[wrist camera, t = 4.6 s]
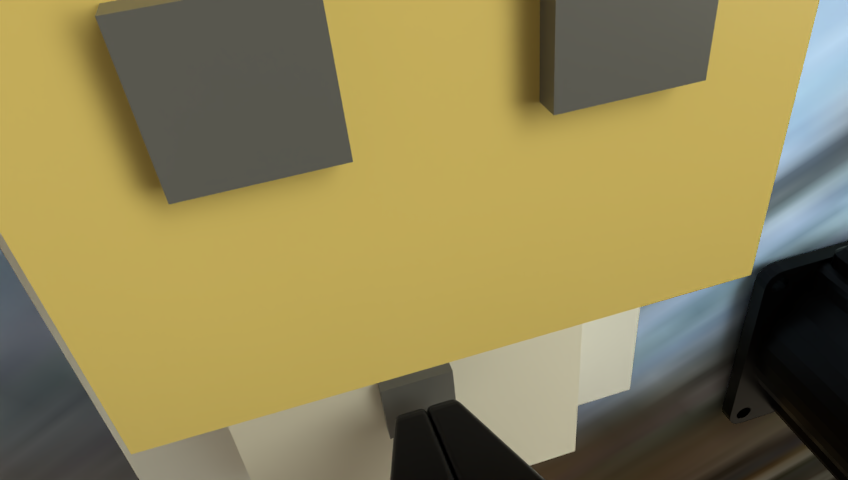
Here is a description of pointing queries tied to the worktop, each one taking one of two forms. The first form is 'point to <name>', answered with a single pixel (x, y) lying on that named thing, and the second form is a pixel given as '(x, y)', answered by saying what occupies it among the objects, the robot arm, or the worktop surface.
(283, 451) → the cream tile
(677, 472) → the worktop surface
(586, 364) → the panel
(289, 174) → the mustard tile
